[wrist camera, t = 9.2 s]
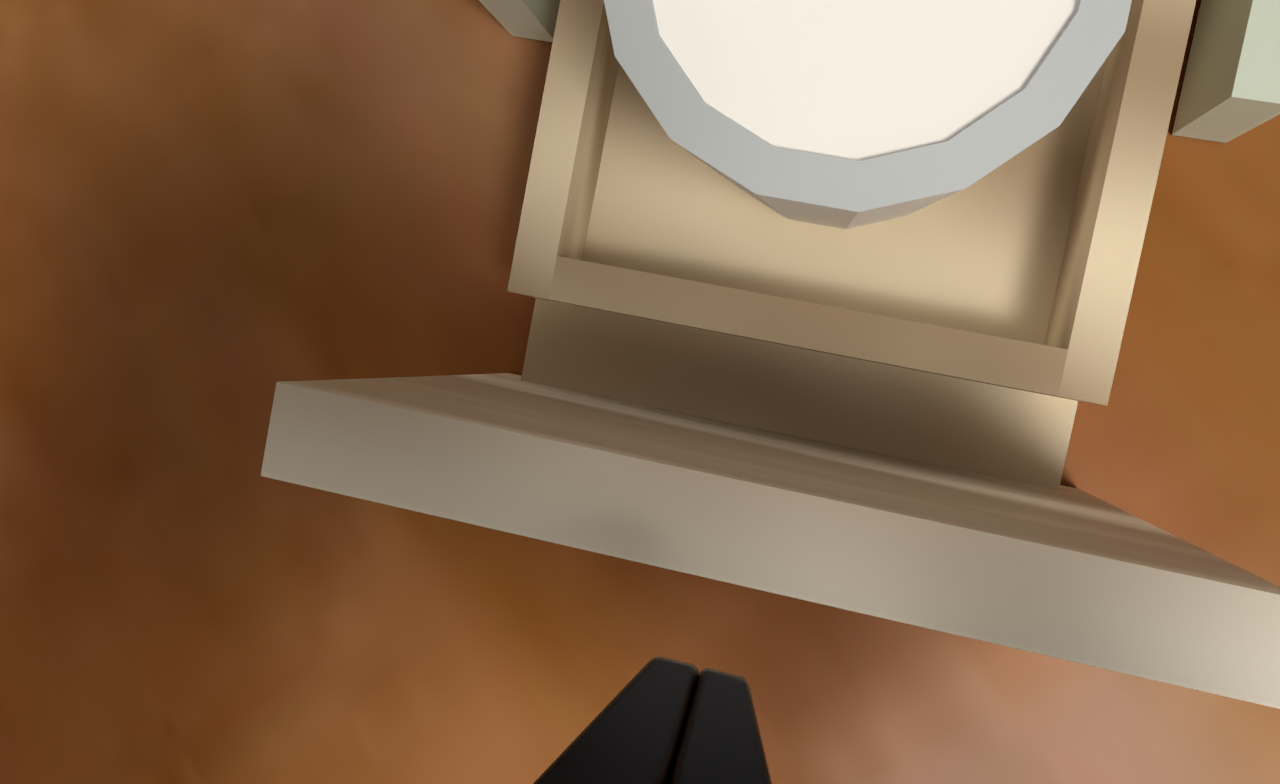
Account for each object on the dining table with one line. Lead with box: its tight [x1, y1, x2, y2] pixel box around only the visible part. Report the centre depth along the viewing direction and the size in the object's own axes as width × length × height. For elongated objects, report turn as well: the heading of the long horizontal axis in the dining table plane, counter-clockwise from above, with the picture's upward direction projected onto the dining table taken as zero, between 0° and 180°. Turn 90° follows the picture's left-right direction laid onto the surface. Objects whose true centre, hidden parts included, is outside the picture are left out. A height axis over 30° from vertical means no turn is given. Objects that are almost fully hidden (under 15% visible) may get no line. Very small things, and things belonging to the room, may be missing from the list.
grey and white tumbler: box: [604, 0, 1132, 230], centre depth 17 cm, size 7×7×7 cm
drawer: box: [261, 0, 1280, 709], centre depth 17 cm, size 14×12×10 cm
